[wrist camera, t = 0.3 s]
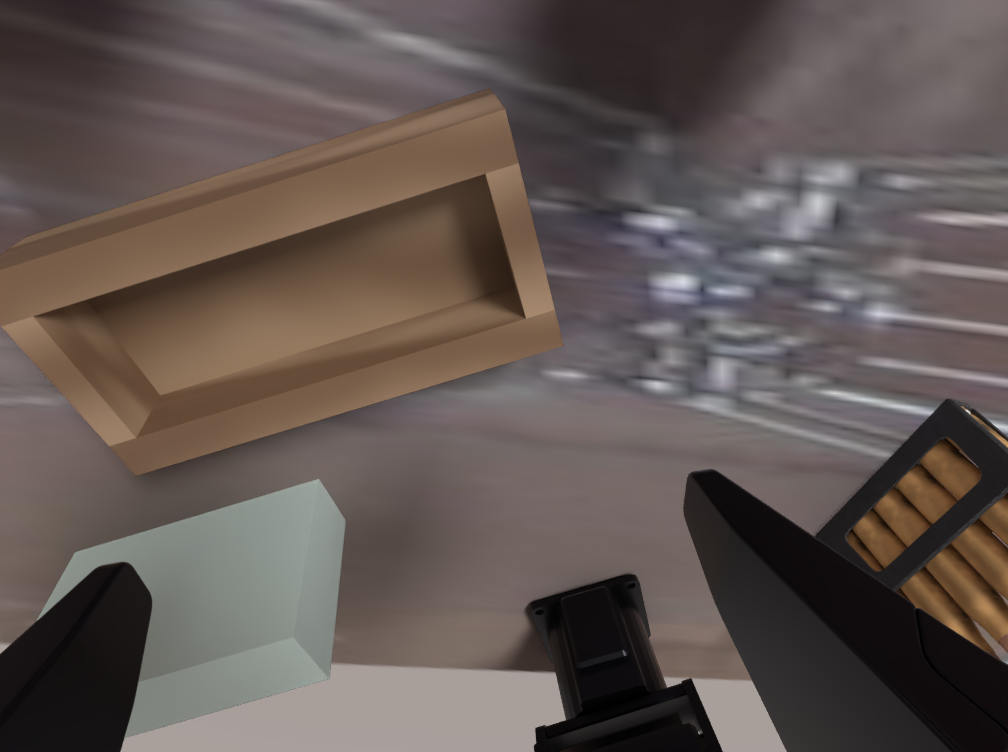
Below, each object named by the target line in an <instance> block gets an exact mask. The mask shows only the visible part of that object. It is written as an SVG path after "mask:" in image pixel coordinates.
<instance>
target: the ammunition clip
mask: <svg viewBox="0 0 1008 752" xmlns="http://www.w3.org/2000/svg"><path fill="white" fill-rule="evenodd" d="M960 451H961V452H962V453H963V454H965V455H966V456H967V457H968V458H969V459H970V460H972V461H973V462H974V463H975V464H976V465H977V466H978V467H977V466H976V465H974V464H973V463H972V462H971V461H970V460H969V459H968V458H966V457H965V456H964V455H963V454H962V453H961V452H960ZM940 482H941V483H942V484H943V485H944V486H945V487H946V488H947V489H948V490H949V491H950V492H951V493H952V494H953V495H954V496H955V497H956V498H955V497H954V496H953V495H952V494H951V493H950V492H949V491H948V490H947V489H946V488H945V487H944V486H943V485H942V484H941V483H940ZM957 498H958V499H959V500H958V499H957ZM992 532H994V533H995V534H996V535H997V536H998V537H999V538H1000V539H1001V540H1002V541H1003V542H1004V543H1005V544H1006V545H1007V546H1008V437H1007V436H1006V435H1005V434H1004V433H1002V432H1001V431H1000V430H999V429H998V428H997V427H995V426H994V425H993V424H992V423H991V422H990V421H988V420H987V419H986V418H985V417H984V416H983V415H981V414H980V413H979V412H978V411H977V410H976V409H974V408H973V407H972V406H969V405H967V404H964V403H961V402H958V401H956V400H953V399H946V400H945V401H944V402H943V403H942V404H941V405H940V406H939V407H938V408H937V410H936V411H935V412H934V413H933V414H932V415H931V416H930V417H929V418H928V419H927V420H926V421H925V422H924V423H923V424H922V425H921V426H920V427H919V428H918V429H917V430H916V431H915V432H914V433H913V435H912V436H911V437H910V438H909V439H908V440H907V441H906V442H905V443H904V444H903V445H902V446H901V447H900V448H899V449H898V450H897V451H896V452H895V453H894V454H893V455H892V456H891V457H890V458H889V460H888V461H887V462H886V463H885V464H884V465H883V466H882V467H881V468H880V469H879V470H878V471H877V472H876V473H875V474H874V475H873V476H872V477H871V478H870V479H869V480H868V481H867V482H866V483H865V485H864V486H863V487H862V488H861V489H860V490H859V491H858V492H857V493H856V494H855V495H854V496H853V497H852V498H851V499H850V500H849V501H848V502H847V503H846V504H845V505H844V506H843V507H842V508H841V510H840V511H839V512H838V513H837V514H836V515H835V516H834V517H833V518H832V519H831V520H830V521H829V522H828V523H827V524H826V525H825V526H824V527H823V528H822V529H821V530H820V531H819V532H818V533H817V534H816V538H817V539H818V540H820V541H821V542H823V543H824V544H826V545H827V546H829V547H830V548H832V549H833V550H835V551H836V552H838V553H839V554H841V555H842V556H844V557H845V558H847V559H848V560H849V561H851V562H852V563H854V564H855V565H857V566H858V567H860V568H861V569H863V570H864V571H866V572H867V573H869V574H870V575H872V576H873V577H875V578H876V579H878V580H879V581H881V582H882V583H884V584H885V585H886V586H888V587H889V588H891V589H892V590H894V591H895V592H897V593H898V594H900V595H901V596H903V597H904V598H906V599H907V600H909V601H910V602H912V603H913V604H914V605H915V609H916V608H921V609H922V610H924V611H925V612H927V613H928V614H930V615H931V616H933V617H934V618H936V619H937V620H939V621H940V622H942V623H943V624H945V625H946V626H948V627H949V628H951V629H952V630H954V631H955V632H957V633H958V634H960V635H961V636H963V637H964V638H966V639H968V640H969V641H971V642H972V643H974V644H975V645H977V646H978V647H980V648H981V649H983V650H984V651H986V652H988V653H989V654H991V655H993V656H994V657H996V658H998V659H999V657H998V656H997V655H996V654H995V651H994V650H993V649H992V648H991V646H990V645H989V644H988V643H987V642H986V640H985V639H984V638H983V637H982V635H981V633H980V632H979V630H978V628H977V627H976V625H975V623H974V622H973V620H974V621H976V622H977V623H978V624H979V625H980V626H982V627H983V628H984V629H985V630H986V631H987V632H988V633H989V634H990V635H991V636H992V637H993V638H994V639H995V640H996V641H997V643H998V644H1000V645H1001V646H1002V647H1003V648H1004V649H1005V650H1006V651H1007V652H1008V606H1007V604H1006V603H1005V601H1004V600H1003V598H1002V597H1001V596H1000V595H999V593H1000V594H1001V595H1002V596H1004V597H1005V598H1006V599H1008V548H1007V547H1006V546H1005V545H1004V544H1003V543H1002V542H1001V541H1000V540H999V539H998V538H997V537H996V536H995V535H994V534H993V533H992ZM970 617H971V618H972V619H973V620H972V619H971V618H970ZM999 660H1000V659H999Z"/></svg>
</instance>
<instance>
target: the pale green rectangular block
mask: <svg viewBox="0 0 1008 752" xmlns="http://www.w3.org/2000/svg"><path fill="white" fill-rule="evenodd" d="M345 523H346V520H345V519H344V517H343V516H342V514H341V513H340V511H339V509H338V508H337V506H336V505H335V503H334V502H333V500H332V498H331V497H330V495H329V494H328V492H327V491H326V489H325V488H324V486H323V484H322V483H321V481H320V480H319V479H317V480H314V481H311V482H307V483H304V484H301V485H297V486H294V487H291V488H287V489H284V490H281V491H277V492H274V493H271V494H267V495H264V496H261V497H257V498H254V499H251V500H247V501H244V502H241V503H237V504H234V505H231V506H227V507H224V508H221V509H217V510H214V511H211V512H207V513H204V514H201V515H197V516H194V517H191V518H187V519H184V520H181V521H177V522H174V523H171V524H167V525H164V526H161V527H157V528H154V529H151V530H147V531H144V532H141V533H137V534H134V535H131V536H127V537H124V538H121V539H117V540H114V541H111V542H107V543H104V544H101V545H97V546H94V547H91V548H87V549H84V550H81V551H77V552H75V553H74V555H73V557H72V559H71V560H70V562H69V564H68V566H67V567H66V569H65V571H64V573H63V575H62V576H61V578H60V580H59V582H58V583H57V585H56V587H55V589H54V591H53V592H52V594H51V596H50V598H49V599H48V601H47V603H46V605H45V607H44V608H43V610H42V612H41V614H40V615H39V617H38V619H39V618H41V617H42V616H43V615H44V614H45V613H46V612H47V611H48V610H49V609H51V608H52V607H53V606H54V605H55V604H56V603H57V602H58V601H59V600H60V599H62V598H63V597H64V596H65V595H66V594H67V593H68V592H69V591H70V590H72V589H73V588H74V587H75V586H76V585H77V584H78V583H79V582H80V581H81V580H83V579H84V578H85V577H86V576H87V575H88V574H89V573H90V572H91V571H93V570H94V569H95V568H97V567H98V566H101V565H105V564H111V563H118V562H128V563H130V564H131V565H132V566H133V567H134V569H135V570H136V572H137V573H138V575H139V576H140V578H141V579H142V581H143V582H144V584H145V585H146V587H147V588H148V590H149V591H150V593H151V596H152V612H151V618H150V623H149V628H148V634H147V639H146V645H145V650H144V655H143V661H142V666H141V672H140V677H139V682H138V688H137V692H136V697H135V702H134V706H133V710H132V713H131V717H130V721H129V724H128V727H127V731H126V734H125V737H124V738H126V737H130V736H133V735H137V734H140V733H143V732H147V731H151V730H154V729H158V728H161V727H165V726H168V725H171V724H175V723H178V722H182V721H185V720H189V719H192V718H196V717H199V716H203V715H206V714H210V713H213V712H217V711H220V710H223V709H227V708H230V707H234V706H237V705H241V704H244V703H248V702H251V701H255V700H258V699H261V698H265V697H269V696H272V695H276V694H279V693H282V692H286V691H289V690H293V689H296V688H300V687H303V686H307V685H310V684H313V683H317V682H321V681H324V680H328V679H330V669H331V660H332V650H333V640H334V631H335V621H336V611H337V601H338V591H339V582H340V572H341V562H342V552H343V543H344V533H345ZM38 619H37V620H38Z"/></svg>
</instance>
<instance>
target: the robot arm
mask: <svg viewBox="0 0 1008 752" xmlns="http://www.w3.org/2000/svg"><path fill="white" fill-rule="evenodd" d="M683 509H684V517H685V520H686V523H687V526H688V529H689V532H690V535H691V538H692V540H693V543H694V546H695V549H696V552H697V554H698V557H699V560H700V563H701V566H702V568H703V571H704V574H705V577H706V580H707V582H708V585H709V588H710V591H711V593H712V596H713V599H714V601H715V604H716V606H717V608H718V611H719V613H720V615H721V617H722V619H723V621H724V623H725V625H726V627H727V630H728V632H729V634H730V636H731V638H732V640H733V642H734V644H735V646H736V648H737V650H738V652H739V654H740V656H741V658H742V660H743V662H744V665H745V667H746V669H747V671H748V673H749V675H750V677H751V679H752V681H753V683H754V685H755V687H756V689H757V691H758V693H759V695H760V697H761V699H762V701H763V704H764V706H765V707H766V710H767V712H768V714H769V716H770V718H771V720H772V722H773V724H774V726H775V728H776V730H777V732H778V734H779V736H780V739H781V741H782V743H783V745H784V747H785V749H786V751H787V752H1008V664H1006V663H1004V662H1003V661H1001V660H999V659H998V658H996V657H994V656H993V655H991V654H989V653H988V652H986V651H984V650H983V649H981V648H980V647H978V646H977V645H975V644H974V643H972V642H971V641H969V640H968V639H966V638H964V637H963V636H961V635H960V634H958V633H957V632H955V631H954V630H952V629H951V628H949V627H948V626H946V625H945V624H943V623H942V622H940V621H939V620H937V619H936V618H934V617H933V616H931V615H930V614H928V613H927V612H925V611H924V610H922V609H921V608H916V609H915V605H914V604H913V603H912V602H910V601H909V600H907V599H906V598H904V597H903V596H901V595H900V594H898V593H897V592H895V591H894V590H892V589H891V588H889V587H888V586H886V585H885V584H884V583H882V582H881V581H879V580H878V579H876V578H875V577H873V576H872V575H870V574H869V573H867V572H866V571H864V570H863V569H861V568H860V567H858V566H857V565H855V564H854V563H852V562H851V561H849V560H848V559H847V558H845V557H844V556H842V555H841V554H839V553H838V552H836V551H835V550H833V549H832V548H830V547H829V546H827V545H826V544H824V543H823V542H821V541H820V540H818V539H817V538H815V537H814V536H813V535H811V534H810V533H808V532H807V531H805V530H804V529H802V528H801V527H799V526H798V525H796V524H795V523H793V522H792V521H790V520H789V519H787V518H786V517H784V516H783V515H781V514H780V513H778V512H777V511H776V510H774V509H773V508H771V507H770V506H768V505H767V504H765V503H764V502H762V501H761V500H759V499H758V498H756V497H755V496H753V495H752V494H750V493H749V492H747V491H746V490H744V489H743V488H741V487H740V486H739V485H737V484H736V483H734V482H733V481H731V480H730V479H728V478H727V477H725V476H724V475H722V474H721V473H719V472H718V471H716V470H713V469H707V470H701V471H694V472H691V473H690V474H689V475H688V477H687V483H686V490H685V498H684V507H683ZM530 610H531V615H532V618H533V620H534V622H535V625H536V627H537V629H538V632H539V634H540V637H541V639H542V641H543V644H544V646H545V648H546V651H547V653H548V656H549V658H550V660H551V663H552V664H554V667H555V672H556V676H557V681H558V685H559V690H560V695H561V699H562V703H563V708H564V713H565V717H566V720H565V721H562V722H559V723H556V724H553V725H550V726H545V725H543V726H540V727H537V728H536V729H535V730H536V731H535V732H536V742H537V743H536V744H535V745H534V751H535V752H723V751H722V749H721V746H720V744H719V742H718V740H717V737H716V735H715V733H714V730H713V728H712V725H711V723H710V721H709V719H708V716H707V714H706V711H705V709H704V707H703V705H702V702H701V700H700V698H699V695H698V693H697V691H696V688H695V686H694V684H693V681H692V679H691V678H690V679H687V680H684V681H682V683H681V684H678V685H675V686H671V687H668V688H667V686H666V684H665V681H664V678H663V675H662V673H661V670H660V667H659V665H658V662H657V659H656V656H655V654H654V651H653V648H652V646H651V643H650V640H649V637H650V635H651V634H650V629H649V624H648V620H647V615H646V610H645V606H644V601H643V597H642V592H641V587H640V583H639V580H638V578H637V576H635V575H627V576H623V577H620V578H616V579H613V580H609V581H606V582H602V583H599V584H595V585H592V586H589V587H585V588H582V589H578V590H575V591H571V592H568V593H564V594H561V595H557V596H554V597H551V598H547V599H544V600H540V601H537V602H534V603H533V604H531V606H530ZM151 612H152V596H151V593H150V591H149V590H148V588H147V587H146V585H145V584H144V582H143V581H142V579H141V578H140V576H139V575H138V573H137V572H136V570H135V569H134V567H133V566H132V565H131V564H130V563H128V562H118V563H111V564H105V565H101V566H98V567H97V568H95V569H94V570H93V571H91V572H90V573H89V574H88V575H87V576H86V577H85V578H84V579H83V580H81V581H80V582H79V583H78V584H77V585H76V586H75V587H74V588H73V589H72V590H70V591H69V592H68V593H67V594H66V595H65V596H64V597H63V598H62V599H60V600H59V601H58V602H57V603H56V604H55V605H54V606H53V607H52V608H51V609H49V610H48V611H47V612H46V613H45V614H44V615H43V616H42V617H41V618H39V619H38V620H37V621H36V622H35V623H34V624H33V625H32V626H31V627H30V628H28V629H27V630H26V631H25V632H24V633H23V634H22V635H21V636H20V637H19V638H17V639H16V640H15V641H14V642H13V643H12V644H11V645H10V646H9V647H7V648H6V649H5V650H4V651H3V652H2V653H1V654H0V752H120V751H121V747H122V744H123V741H124V737H125V734H126V731H127V727H128V724H129V721H130V717H131V713H132V710H133V706H134V702H135V697H136V692H137V688H138V682H139V677H140V672H141V666H142V661H143V655H144V650H145V645H146V639H147V634H148V628H149V623H150V618H151ZM698 731H699V733H700V734H698Z"/></svg>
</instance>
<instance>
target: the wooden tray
mask: <svg viewBox="0 0 1008 752" xmlns="http://www.w3.org/2000/svg"><path fill="white" fill-rule="evenodd" d="M0 325H1V327H2V328H3V329H4V330H5V331H6V332H7V333H8V334H9V335H10V337H11V338H12V339H13V340H14V341H15V342H16V343H17V344H18V345H19V347H20V348H21V349H22V350H23V351H24V352H25V353H26V354H27V355H28V357H29V358H30V359H31V360H32V361H33V362H34V363H35V364H36V365H37V367H38V368H39V369H40V370H41V371H42V372H43V373H44V374H45V376H46V377H47V378H48V379H49V380H50V381H51V382H52V383H53V384H54V386H55V387H56V388H57V389H58V390H59V391H60V392H61V393H62V394H63V396H64V397H65V398H66V399H67V400H68V401H69V402H70V403H71V404H72V406H73V407H74V408H75V409H76V410H77V411H78V412H79V413H80V414H81V416H82V417H83V418H84V419H85V420H86V421H87V422H88V423H89V424H90V426H91V427H92V428H93V429H94V430H95V431H96V432H97V433H98V435H99V436H100V437H101V438H102V439H103V440H104V441H105V442H106V443H107V445H108V446H109V447H110V448H111V449H112V450H113V451H114V452H115V453H116V455H117V456H118V457H119V458H120V459H121V460H122V461H123V462H124V463H125V465H126V466H127V467H128V468H129V469H130V470H131V471H132V472H133V473H134V475H135V476H137V475H140V474H144V473H147V472H150V471H154V470H157V469H160V468H163V467H167V466H170V465H173V464H177V463H180V462H183V461H186V460H190V459H193V458H196V457H200V456H203V455H206V454H209V453H213V452H216V451H219V450H223V449H226V448H229V447H232V446H236V445H239V444H242V443H246V442H249V441H252V440H256V439H259V438H262V437H265V436H269V435H272V434H275V433H279V432H282V431H285V430H288V429H292V428H295V427H298V426H302V425H305V424H308V423H311V422H315V421H318V420H321V419H325V418H328V417H331V416H335V415H338V414H341V413H344V412H348V411H351V410H354V409H358V408H361V407H364V406H367V405H371V404H374V403H377V402H381V401H384V400H387V399H390V398H394V397H397V396H400V395H404V394H407V393H410V392H413V391H417V390H420V389H423V388H427V387H430V386H433V385H437V384H440V383H443V382H446V381H450V380H453V379H456V378H460V377H463V376H466V375H469V374H473V373H476V372H479V371H483V370H486V369H489V368H492V367H496V366H499V365H502V364H506V363H509V362H512V361H515V360H519V359H522V358H525V357H529V356H532V355H535V354H539V353H542V352H545V351H548V350H552V349H555V348H558V347H562V346H564V345H563V341H562V337H561V333H560V329H559V325H558V321H557V317H556V313H555V309H554V305H553V301H552V297H551V293H550V288H549V284H548V280H547V276H546V272H545V268H544V264H543V260H542V256H541V252H540V248H539V244H538V240H537V236H536V232H535V227H534V223H533V219H532V215H531V211H530V207H529V203H528V199H527V195H526V191H525V187H524V183H523V179H522V175H521V171H520V167H519V162H518V158H517V154H516V150H515V146H514V142H513V138H512V134H511V130H510V126H509V122H508V118H507V114H506V110H505V108H504V107H503V105H502V104H501V103H500V101H499V100H498V99H497V97H496V96H495V95H494V93H493V92H492V90H491V89H490V88H489V89H486V90H483V91H480V92H477V93H474V94H470V95H467V96H464V97H461V98H458V99H455V100H452V101H449V102H445V103H442V104H439V105H436V106H433V107H430V108H427V109H424V110H420V111H417V112H414V113H411V114H408V115H405V116H402V117H399V118H396V119H392V120H389V121H386V122H383V123H380V124H377V125H374V126H371V127H367V128H364V129H361V130H358V131H355V132H352V133H349V134H346V135H342V136H339V137H336V138H333V139H330V140H327V141H324V142H321V143H318V144H314V145H311V146H308V147H305V148H302V149H299V150H296V151H293V152H289V153H286V154H283V155H280V156H277V157H274V158H271V159H268V160H264V161H261V162H258V163H255V164H252V165H249V166H246V167H243V168H240V169H236V170H233V171H230V172H227V173H224V174H221V175H218V176H215V177H211V178H208V179H205V180H202V181H199V182H196V183H193V184H190V185H186V186H183V187H180V188H177V189H174V190H171V191H168V192H165V193H161V194H158V195H155V196H152V197H149V198H146V199H143V200H140V201H137V202H133V203H130V204H127V205H124V206H121V207H118V208H115V209H112V210H108V211H105V212H102V213H99V214H96V215H93V216H90V217H87V218H83V219H80V220H77V221H74V222H71V223H68V224H65V225H62V226H59V227H55V228H52V229H49V230H46V231H43V232H40V233H37V234H34V235H30V236H27V237H25V238H24V239H22V240H21V241H20V242H18V243H17V244H15V245H14V246H13V247H11V248H10V249H8V250H7V251H6V252H4V253H3V254H1V255H0Z"/></svg>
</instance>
